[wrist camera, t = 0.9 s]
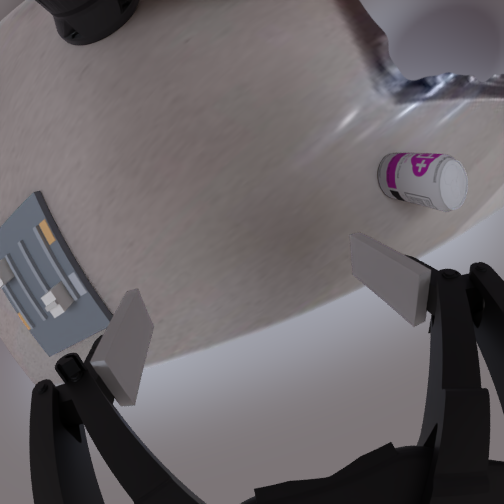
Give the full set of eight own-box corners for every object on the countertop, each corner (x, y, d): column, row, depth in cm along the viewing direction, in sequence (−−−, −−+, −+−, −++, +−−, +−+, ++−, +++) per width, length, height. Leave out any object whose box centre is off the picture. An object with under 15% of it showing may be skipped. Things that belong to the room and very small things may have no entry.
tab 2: (51, 287, 36) (39, 299, 32) (61, 280, 36) (48, 292, 32) (64, 306, 38) (53, 320, 33) (74, 300, 38) (63, 313, 33)
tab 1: (-2, 264, 33) (-15, 272, 29) (5, 256, 33) (-9, 265, 29) (8, 282, 34) (-5, 292, 30) (15, 275, 34) (1, 285, 30)
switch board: (-13, 246, 34) (-21, 251, 31) (40, 190, 33) (30, 192, 31) (53, 351, 42) (47, 359, 39) (115, 318, 42) (110, 328, 39)
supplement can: (368, 166, 41) (429, 170, 27) (399, 145, 41) (460, 146, 26) (386, 206, 44) (446, 225, 29) (415, 184, 43) (474, 196, 29)
